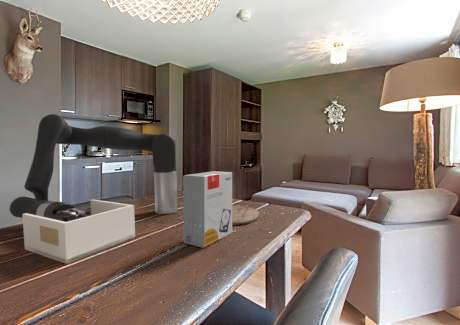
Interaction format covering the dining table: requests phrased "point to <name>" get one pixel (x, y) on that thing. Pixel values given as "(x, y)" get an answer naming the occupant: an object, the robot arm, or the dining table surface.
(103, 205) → the carton
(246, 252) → the dining table surface
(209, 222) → the hard drive box
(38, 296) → the dining table surface
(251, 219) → the trivet
